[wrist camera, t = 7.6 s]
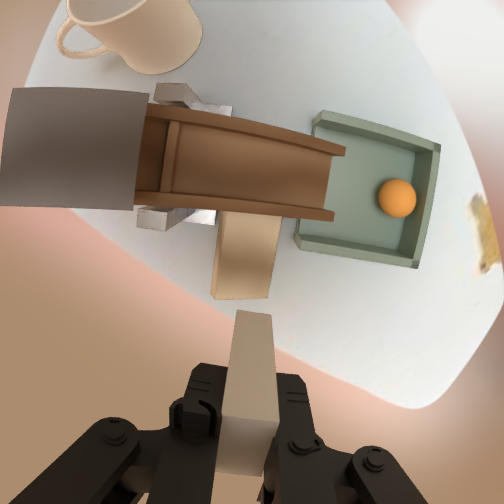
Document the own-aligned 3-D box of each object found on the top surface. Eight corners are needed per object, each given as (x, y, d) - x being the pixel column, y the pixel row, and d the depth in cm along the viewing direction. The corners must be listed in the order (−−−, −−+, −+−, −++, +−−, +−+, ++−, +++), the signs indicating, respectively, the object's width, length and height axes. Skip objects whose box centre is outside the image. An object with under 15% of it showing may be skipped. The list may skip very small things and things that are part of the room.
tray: (314, 118, 26) (322, 109, 22) (420, 147, 27) (441, 144, 23) (293, 239, 29) (299, 249, 25) (400, 257, 29) (417, 268, 25)
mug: (102, 100, 26) (30, 72, 14) (92, 37, 24) (31, -5, 12) (211, 58, 25) (184, -5, 13) (193, -4, 23) (164, -73, 11)
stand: (170, 102, 26) (131, 73, 17) (232, 108, 26) (220, 76, 17) (154, 215, 29) (109, 234, 19) (215, 224, 29) (194, 248, 19)
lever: (40, 101, 14) (14, 80, 9) (325, 143, 24) (379, 145, 19) (31, 291, 18) (11, 337, 12) (298, 290, 28) (342, 321, 22)
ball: (421, 185, 26) (387, 177, 28) (416, 180, 23) (377, 172, 25) (414, 222, 26) (381, 213, 29) (408, 222, 24) (370, 212, 26)
